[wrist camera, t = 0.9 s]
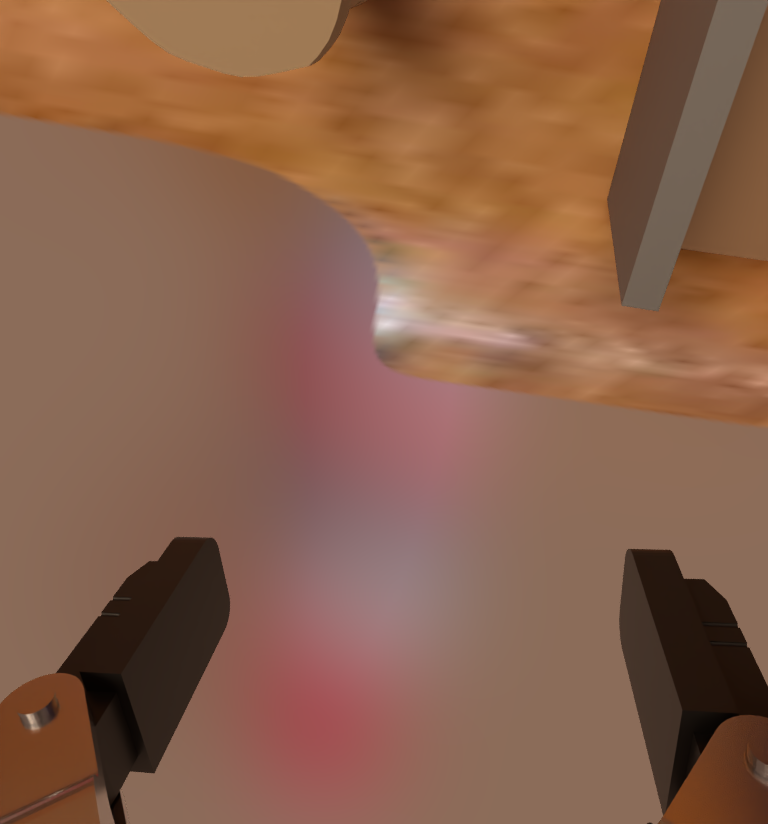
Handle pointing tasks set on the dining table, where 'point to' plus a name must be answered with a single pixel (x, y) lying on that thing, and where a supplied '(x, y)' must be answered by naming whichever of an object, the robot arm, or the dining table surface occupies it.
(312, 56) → the handle
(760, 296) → the dining table surface
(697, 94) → the board
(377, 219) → the dining table surface
